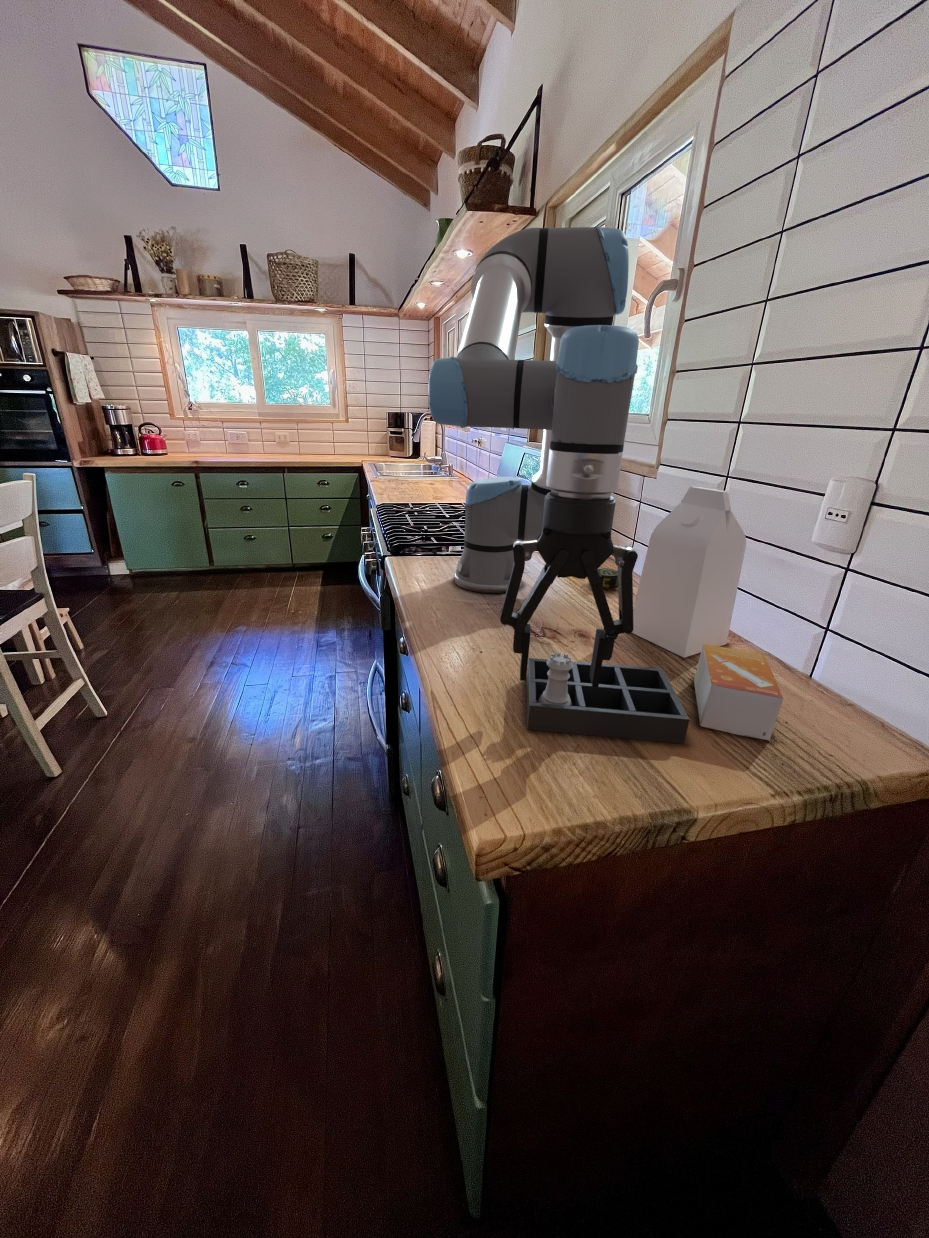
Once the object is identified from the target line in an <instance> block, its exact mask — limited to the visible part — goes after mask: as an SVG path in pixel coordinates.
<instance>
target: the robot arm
mask: <svg viewBox="0 0 929 1238" xmlns="http://www.w3.org/2000/svg"><path fill="white" fill-rule="evenodd" d="M629 256H630V255H629V243H628V238H627V235H626V233H625V232H624V231H623V230H622V229H620V228H614V227H606V226H605V227H604V226H599V225H596V226H583V227H582V226H581V227H578V226H577V227H528V228H524V229H521V230H518V231H515V232H513V233H511V234H509V235H508V236H506V237H504V238H503V239H501V240H499V241H498V242H497V243H496V244H494V245H493V246H491V247H490V249H488V250H487V251H486V252H485V253H484V254H483V256H482V257H481V258H480V260H479V261H478V263H477V265H476V267H475V270H474V272H473V276H472V279H471V283H470V295H471V301H472V302H471V305H470V307H469V312H468V315H467V318H466V322H465V325H464V329H463V332H462V335H461V339H460V342H459V344H458V345H459V346H458V349H457V353H456V356H450V357H443V358H442V357H441V358H437V359H435V360H433V362H432V363H431V366H430V370H429V374H428V389H427V390H428V406H429V412H430V415H431V418H432V420H433V421H434V422H435V423H436V424H439V425H442V426H443V425H444V426H454V427H460V428H461V429H465V428H492V429H493V428H495V429H496V428H498V429H503V428H504V429H521V430H522V429H523V430H524V429H525V430H541V431H542V430H543V433H542V445H541V455H540V465H539V470H538V471H537V472H536V473H534V474H533V475H532V477H531V484H523V482H522V478H521V477H520V476H496V477H495V476H494V477H488V478H481V479H477V480H473V481H471V482H470V483H469V484H467V487H466V493H465V502H464V509H465V510H464V536H463V540H464V541H463V550H462V554H461V556H460V558H459V560H458V561H457V564H456V570H455V572H454V583H455V585H457V586H458V587H460V588H462V589H464V590H468V591H472V592H477V593H485V594H500V593H505V595H504V599H503V603H502V606H501V610H500V618H499V622H500V624H502V625H504V626H510V627H511V628H512V629H513V640H512V641H513V642H512V651H513V654H521V656H520V665H519V666H520V667H519V681H522V682H527V671H528V661H529V653H530V644H531V632H532V631H531V623H529V622H530V620H531V618H532V616H533V615H534V614H535V612H536V610H537V608H538V606H539V605H540V603H542V600H543V599H544V597H545V595H546V593H547V591H548V590H549V588H550V587H551V585H552V584H553V583H554V581H555V580H556V579H557V578H564V579H565V578H570V577H572V578H576V579H578V580H579V579H580V580H586V578H587V582H588V584H589V587H590V590H591V593H592V596H593V599H594V603H595V605H596V608H597V611H598V614H599V618H600V621H601V624H602V627H603V628H602V629H601V628H596V630H595V637H594V642H593V650H592V657H591V661H590V663H591V669H590V675H589V676H590V680H591V684H592V686H593V687H598V686H599V680H600V674H601V667H602V664H603V662H604V661H611V659H612V658H613V653H614V646H615V640H617V639H618V637H619V636H620V635H621V634H625V635H629V634H633V633H632V631H633V629H634V628H633V608H634V587H633V586H634V582H633V581H634V580H633V577H634V575H633V572H634V569H635V566H636V564H637V561H638V558H639V555H638V552H637V551H636V550H635V549H634V548H633V546H631V545H625V546H620V545H616V544H614V543H613V541H612V531H613V523H614V517H615V511H616V504H617V501H616V499H615V497H614V496H613V495H612V494H614V493H616V492H617V491H618V490H619V484H620V477H621V476H620V475H621V467H622V460H623V454H624V446H625V439H626V433H627V426H628V420H629V413H630V408H631V407H630V406H631V401H632V396H633V388H634V382H635V378H636V377H635V376H636V374H637V373H638V369H639V367H638V366H639V365H638V364H637V362H638V352H639V342H640V341H639V335H638V333H637V332H636V330H634V329H632V328H630V327H627V326H622V325H613V324H614V318H615V316H619V315H621V314H623V313H624V311H625V309H626V301H627V296H628V288H629V287H628V286H629V264H630V262H629V261H630V260H629V259H630V257H629ZM523 313H534V314H545V318H544V327H545V329H546V330H547V331H548V332H549V334H550V336H551V347H550V355H549V356H550V357H549V360H540V359H539V360H538V359H537V360H533V359H528V360H527V359H515V358H516V351H517V345H518V338H519V331H520V325H521V317H522V314H523ZM535 552H538V554H539V555H540V557H541V558H542V560H543V562H544V563H545V564H544V566H543V567H542V569H541V571H540V574H539V575H538V577H537V579H536V581H535V582H534V585H533V586H532V587H531V590H530V591H529V592H528V594H527V596H526V598H525V600H524V602H523V603H522V605H521V606H520V608H519V610H518V612H517V613H516V612H514V609H515V605H516V601H517V597H518V595H519V590H520V587H521V586H522V580H523V576H524V573H525V568H526V562H529V561H530V560H531V559H532V557H533V554H534V553H535ZM611 556H613V562H614V564H615V565H616V566H617V571H618V588H617V599H618V601H617V602H618V619H616V620H615V619H614V618H613V615H612V613H611V609H610V606H609V603H608V600H607V596H606V593H605V590H604V588H603V587H602V583H601V580H600V577H599V574H598V570H597V569H600V567H601V566H602V565H604V563H605V562H606V561H607V560H608V559H609V558H610V557H611Z"/></svg>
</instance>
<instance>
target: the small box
mask: <svg viewBox="0 0 929 1238" xmlns="http://www.w3.org/2000/svg"><path fill="white" fill-rule="evenodd" d="M699 654H700V655H699V659H698V663H697V666H696V671H695V675H694V679H693V683H694V692H695V697H696V705H697V712H698V720H699V726H700V727H703V728H705V729H711V730H715V731H720V732H723V733H729V734H732V735H737V736H743V737H748V738H754V739H760V740H765V741H771V738H772V735H773V731H774V728H775V725H776V722H777V718H778V715H779V713H780V709H781V707H782V703H783V700H784V697H783V695H782V692H781V690H780V687H779V686H778V683H777V680H776V678H775V676H774V674H773V671H772V669H771V667H770V664H769V663H768V660H767V658H766V655H765V653H763V652H756V651H749V650H742V649H735V648H729V647H726V646H725V647H724V646H713V645H707V644H703V646H702V650H701V652H700V653H699Z"/></svg>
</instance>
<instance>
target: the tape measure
mask: <svg viewBox="0 0 929 1238" xmlns="http://www.w3.org/2000/svg"><path fill="white" fill-rule="evenodd" d="M597 570H598V574H599V577H600V580H601V583H602V587H603V589H606V590H613V589H614V590H615V589H618V569H614V568H607V567H605V568H604V567H603V568H598V569H597Z"/></svg>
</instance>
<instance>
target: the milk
mask: <svg viewBox="0 0 929 1238" xmlns="http://www.w3.org/2000/svg"><path fill="white" fill-rule="evenodd" d="M730 500H731V499H730V494H729V491H728V490H721V489H714V488H708V487H703V486H694V485H693V486H689V488H688V489H687V491H686V492H685V494H684V496H683V498H682V499H681V501H680V503H678V504H677V505H676V506H675V507H674V508H673V509H672V510H671V511H670V512H669V513H668V514H667V515H666V516H665V517H663V519H662V520H661V521H660V522H659V523H658V524H657V525H656V526H655V528H654V529H653V531H652V532H651V535H650V537H649V542H648V545H647V550H646V555H645V558H644V561H643V566H642V570H641V575H640V579H639V583H638V587H637V591H636V596H635V600H634V602H633V628H634V629H633V631H632V633H631V634H634V635H636V636H638V637H640V638H642V639H644V640H646V641H647V642H650V643H653V644H654V645H656V646H658V647H660V648H663V649H665V650H667V651H669V652H671V653H673V654H675V655H677V656H680V657H682V658H684V659H685V658H688V657H691V656H695V655H697V654H701V650H702V646H703V644H707V645H713V646H719V647H723V646H725V645H727V643H728V640H729V633H730V628H731V622H732V618H733V613H734V609H735V603H736V598H737V593H738V587H739V584H740V583H739V582H740V578H741V573H742V568H743V563H744V558H745V553H746V548H747V537H746V534H745V532H744V530H743V528H742V527H741V525H740V523H739V522H738V520H737V518H736V516H735V515H734V513H733V511H731V510H732V507H731V501H730Z"/></svg>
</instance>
